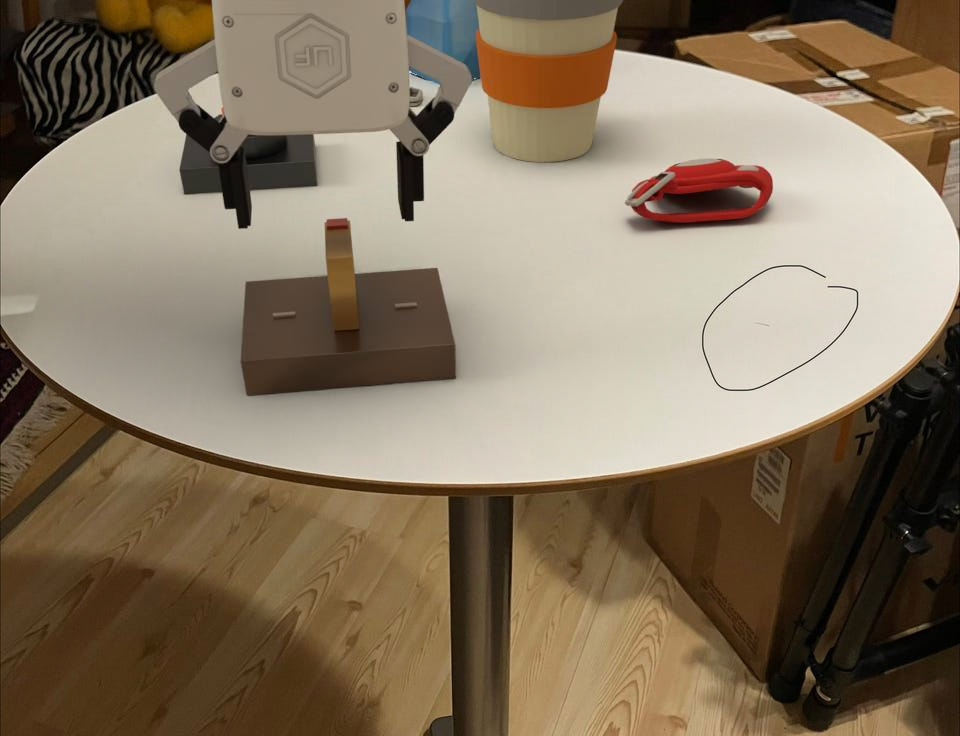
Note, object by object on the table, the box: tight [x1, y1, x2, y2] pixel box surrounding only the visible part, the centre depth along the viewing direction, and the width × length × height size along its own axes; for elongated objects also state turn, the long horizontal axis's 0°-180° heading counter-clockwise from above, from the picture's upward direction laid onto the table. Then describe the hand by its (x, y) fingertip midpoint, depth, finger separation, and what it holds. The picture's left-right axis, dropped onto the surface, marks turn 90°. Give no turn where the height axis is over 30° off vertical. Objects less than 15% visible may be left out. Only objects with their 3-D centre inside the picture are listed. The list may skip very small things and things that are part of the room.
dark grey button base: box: [179, 113, 318, 195], centre depth 89 cm, size 11×9×4 cm
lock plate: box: [240, 267, 457, 396], centre depth 68 cm, size 13×10×3 cm
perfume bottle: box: [405, 0, 481, 85], centre depth 105 cm, size 6×6×12 cm
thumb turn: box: [324, 217, 359, 331], centre depth 65 cm, size 5×2×5 cm, turn 7°
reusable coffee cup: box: [473, 0, 624, 163], centre depth 90 cm, size 13×12×15 cm
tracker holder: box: [624, 158, 774, 223], centre depth 83 cm, size 12×4×10 cm
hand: (326, 215), depth 63 cm, fingers open, 9 cm apart
